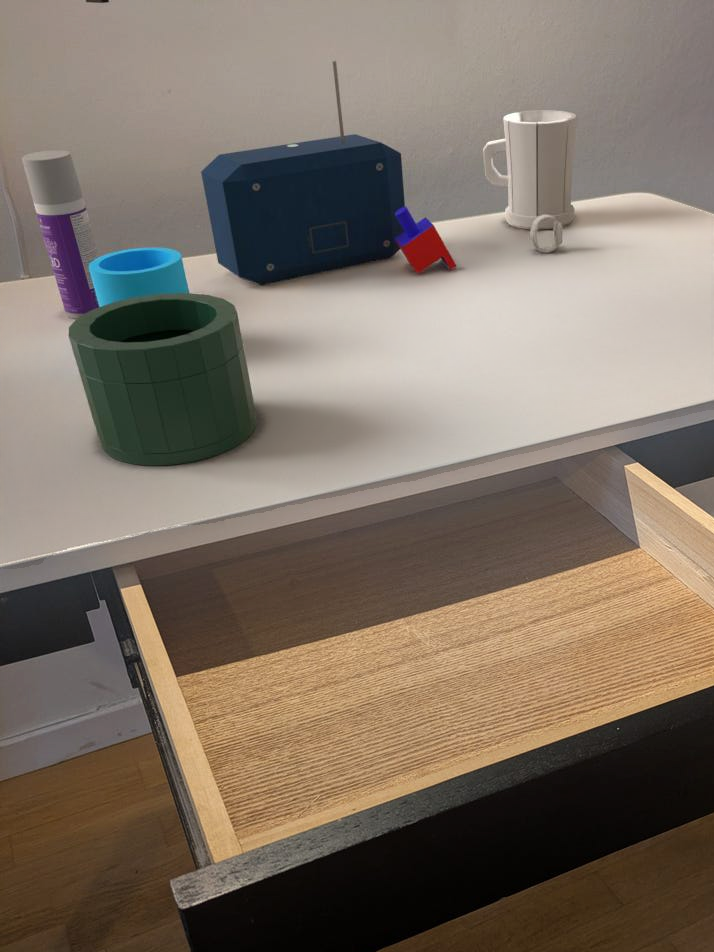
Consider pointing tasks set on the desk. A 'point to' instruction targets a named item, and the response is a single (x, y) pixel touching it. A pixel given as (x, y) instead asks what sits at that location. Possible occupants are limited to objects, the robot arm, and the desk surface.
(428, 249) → the toy building block
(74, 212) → the container
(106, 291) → the mug
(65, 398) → the desk surface
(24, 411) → the desk surface
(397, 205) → the radio
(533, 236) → the grey ring
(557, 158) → the cup
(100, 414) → the jar
